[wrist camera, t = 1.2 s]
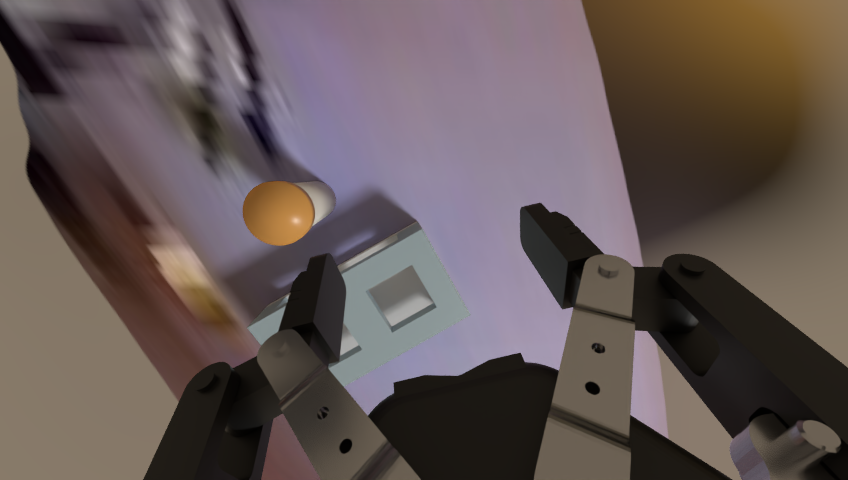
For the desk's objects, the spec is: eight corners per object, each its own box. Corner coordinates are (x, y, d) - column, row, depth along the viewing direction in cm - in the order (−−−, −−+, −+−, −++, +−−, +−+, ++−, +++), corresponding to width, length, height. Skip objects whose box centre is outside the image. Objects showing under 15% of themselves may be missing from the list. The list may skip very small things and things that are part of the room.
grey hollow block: (320, 374, 42) (309, 406, 36) (267, 305, 39) (247, 327, 33) (458, 295, 42) (470, 314, 36) (417, 220, 39) (422, 228, 33)
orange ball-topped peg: (293, 216, 37) (239, 239, 24) (298, 175, 36) (245, 175, 23) (334, 223, 38) (306, 250, 24) (340, 183, 37) (314, 188, 23)
